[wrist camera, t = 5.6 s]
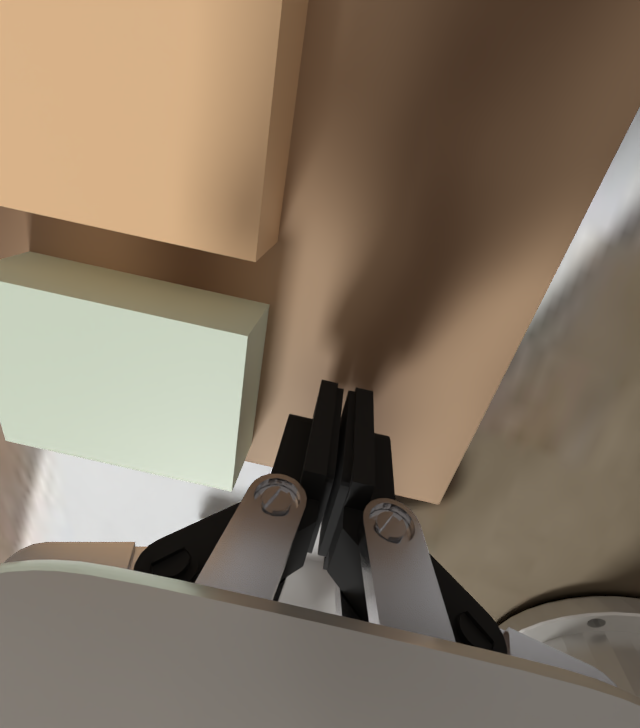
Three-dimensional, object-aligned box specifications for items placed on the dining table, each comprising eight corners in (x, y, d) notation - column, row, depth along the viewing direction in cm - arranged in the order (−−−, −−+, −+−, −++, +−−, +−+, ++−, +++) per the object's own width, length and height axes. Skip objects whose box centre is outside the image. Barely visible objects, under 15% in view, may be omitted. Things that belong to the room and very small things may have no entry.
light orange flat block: (313, -35, 8) (292, -103, 6) (277, 241, 11) (255, 262, 9) (-40, -109, 8) (-183, -203, 6) (16, 184, 11) (-67, 191, 9)
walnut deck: (630, 18, 10) (703, -21, 8) (430, 461, 18) (438, 504, 16) (-107, -138, 10) (-237, -218, 8) (17, 369, 18) (-32, 398, 16)
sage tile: (269, 304, 12) (247, 336, 10) (251, 443, 15) (231, 491, 13) (29, 251, 12) (-44, 271, 10) (57, 400, 15) (5, 440, 13)
